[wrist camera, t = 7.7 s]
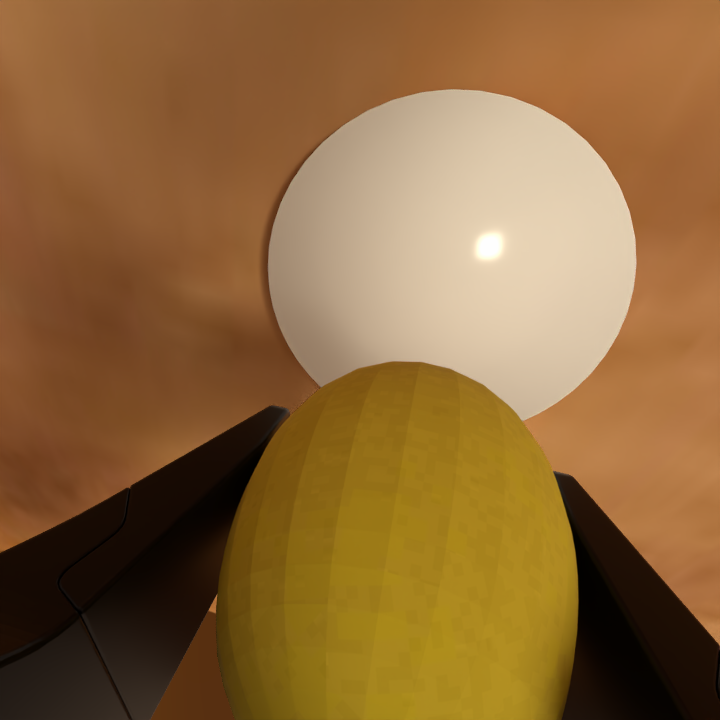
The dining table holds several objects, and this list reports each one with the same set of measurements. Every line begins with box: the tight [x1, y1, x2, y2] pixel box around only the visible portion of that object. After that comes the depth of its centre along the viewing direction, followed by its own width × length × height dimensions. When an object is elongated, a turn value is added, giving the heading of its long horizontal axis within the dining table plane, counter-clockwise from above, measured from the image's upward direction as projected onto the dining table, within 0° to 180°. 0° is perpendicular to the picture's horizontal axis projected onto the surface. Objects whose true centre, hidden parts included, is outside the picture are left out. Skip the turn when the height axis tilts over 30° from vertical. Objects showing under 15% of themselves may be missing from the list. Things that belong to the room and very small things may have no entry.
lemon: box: [216, 361, 578, 720], centre depth 7 cm, size 6×6×8 cm
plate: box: [268, 89, 636, 421], centre depth 17 cm, size 14×14×1 cm
